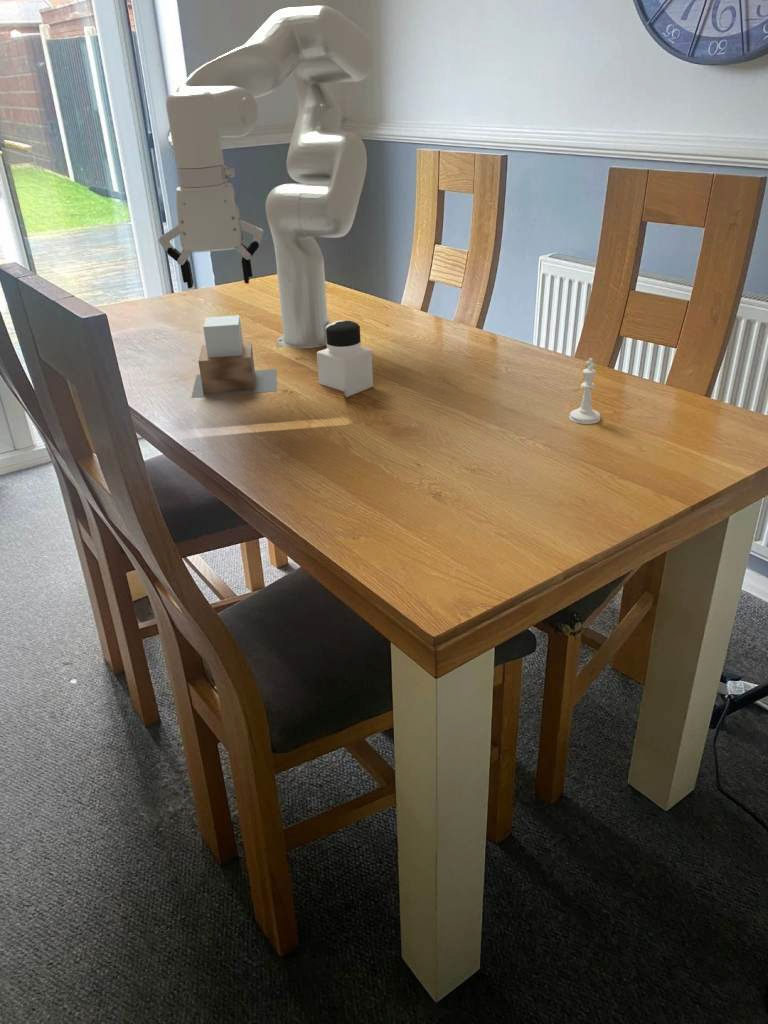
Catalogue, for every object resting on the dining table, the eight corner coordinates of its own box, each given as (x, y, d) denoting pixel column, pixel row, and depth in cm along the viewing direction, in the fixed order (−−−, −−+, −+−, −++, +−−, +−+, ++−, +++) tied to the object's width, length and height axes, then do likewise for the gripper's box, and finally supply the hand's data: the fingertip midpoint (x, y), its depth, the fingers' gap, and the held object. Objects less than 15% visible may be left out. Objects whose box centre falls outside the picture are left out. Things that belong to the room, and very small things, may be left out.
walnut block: (255, 373, 149) (251, 342, 146) (254, 389, 141) (250, 357, 138) (206, 376, 148) (202, 345, 145) (203, 393, 140) (198, 361, 137)
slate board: (276, 374, 151) (276, 368, 150) (277, 397, 140) (276, 391, 140) (197, 380, 149) (196, 374, 149) (192, 404, 139) (191, 397, 138)
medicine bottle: (374, 387, 143) (371, 322, 138) (346, 398, 139) (342, 331, 133) (346, 378, 148) (342, 315, 142) (318, 389, 143) (313, 324, 137)
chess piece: (582, 426, 125) (588, 366, 120) (562, 416, 129) (567, 357, 124) (606, 420, 127) (613, 360, 122) (586, 410, 131) (592, 351, 126)
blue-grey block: (243, 345, 144) (239, 315, 142) (242, 355, 139) (238, 324, 136) (210, 347, 144) (205, 317, 141) (207, 357, 138) (203, 326, 136)
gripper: (256, 170, 131) (269, 274, 140) (150, 178, 130) (170, 282, 139) (255, 177, 125) (269, 285, 134) (145, 185, 123) (166, 294, 132)
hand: (219, 283), depth 136 cm, fingers open, 9 cm apart
